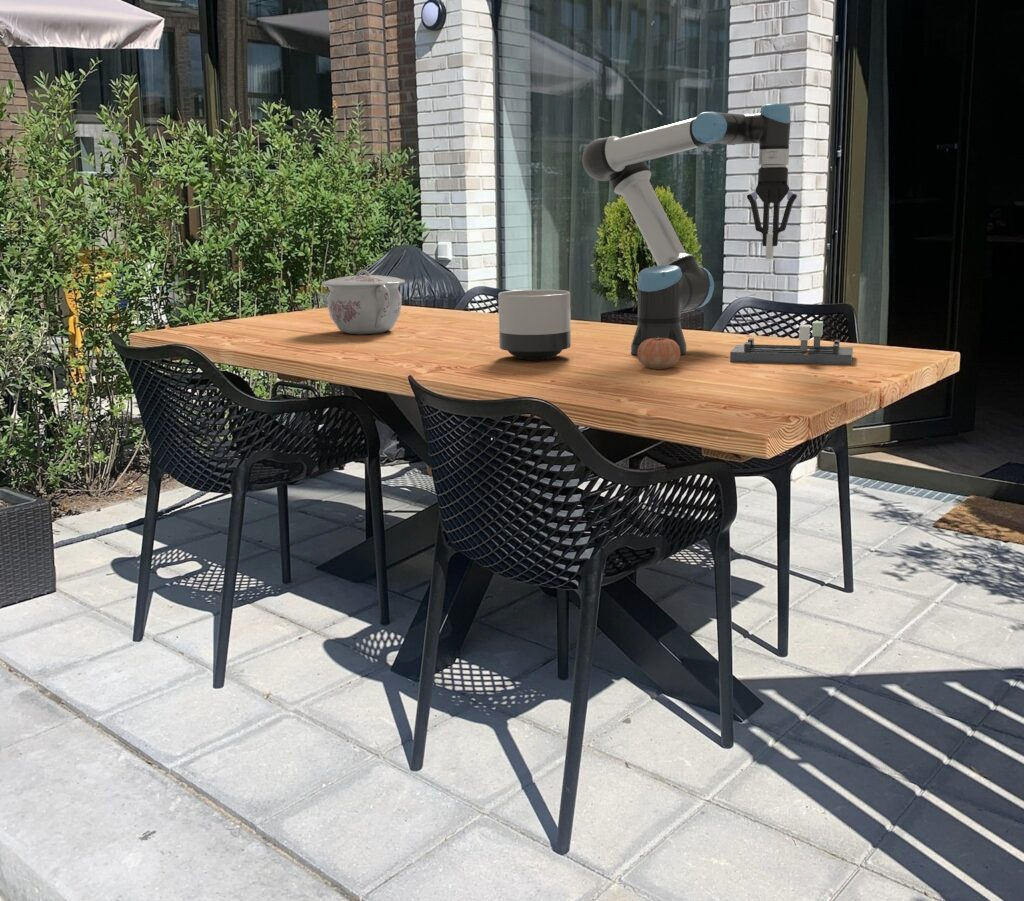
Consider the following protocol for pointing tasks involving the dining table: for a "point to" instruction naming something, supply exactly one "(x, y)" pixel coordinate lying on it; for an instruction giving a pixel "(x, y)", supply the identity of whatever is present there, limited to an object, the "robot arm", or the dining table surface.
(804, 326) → the fader
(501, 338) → the planter
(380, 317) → the chamber pot
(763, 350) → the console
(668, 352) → the small orange pumpkin
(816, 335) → the fader
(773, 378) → the dining table surface
